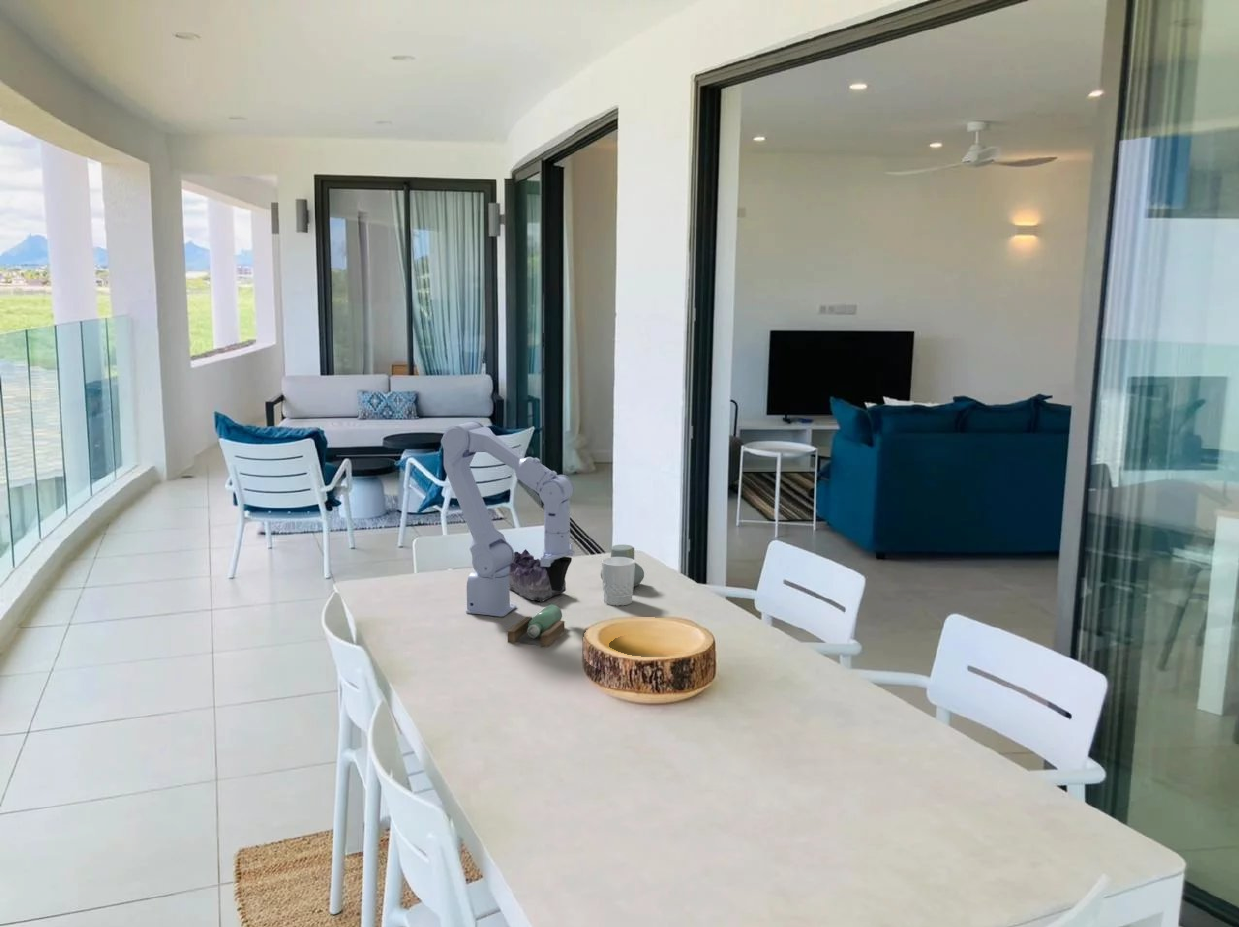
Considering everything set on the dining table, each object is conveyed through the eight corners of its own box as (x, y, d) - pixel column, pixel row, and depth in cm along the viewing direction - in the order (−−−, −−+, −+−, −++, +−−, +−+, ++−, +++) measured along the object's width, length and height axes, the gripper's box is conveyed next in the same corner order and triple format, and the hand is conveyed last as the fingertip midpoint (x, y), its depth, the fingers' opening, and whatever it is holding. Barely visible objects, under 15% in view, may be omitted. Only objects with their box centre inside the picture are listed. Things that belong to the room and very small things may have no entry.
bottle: (541, 620, 224) (521, 638, 213) (545, 602, 224) (525, 618, 212) (559, 626, 223) (540, 644, 212) (563, 608, 222) (544, 625, 211)
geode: (487, 586, 253) (490, 547, 253) (526, 584, 260) (529, 546, 260) (531, 603, 237) (535, 561, 237) (571, 601, 245) (575, 560, 244)
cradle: (507, 642, 213) (507, 630, 212) (526, 627, 222) (526, 616, 222) (547, 647, 210) (547, 635, 210) (564, 631, 220) (564, 620, 219)
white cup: (634, 606, 237) (635, 565, 236) (601, 606, 237) (601, 565, 236) (634, 596, 245) (635, 556, 243) (602, 596, 245) (602, 556, 244)
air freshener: (649, 585, 255) (649, 546, 253) (632, 593, 248) (632, 553, 246) (612, 578, 261) (613, 540, 259) (595, 586, 254) (595, 547, 252)
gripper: (562, 539, 216) (562, 601, 219) (585, 525, 230) (585, 582, 232) (531, 537, 218) (531, 597, 221) (556, 522, 232) (556, 579, 234)
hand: (557, 589), depth 227 cm, fingers closed
